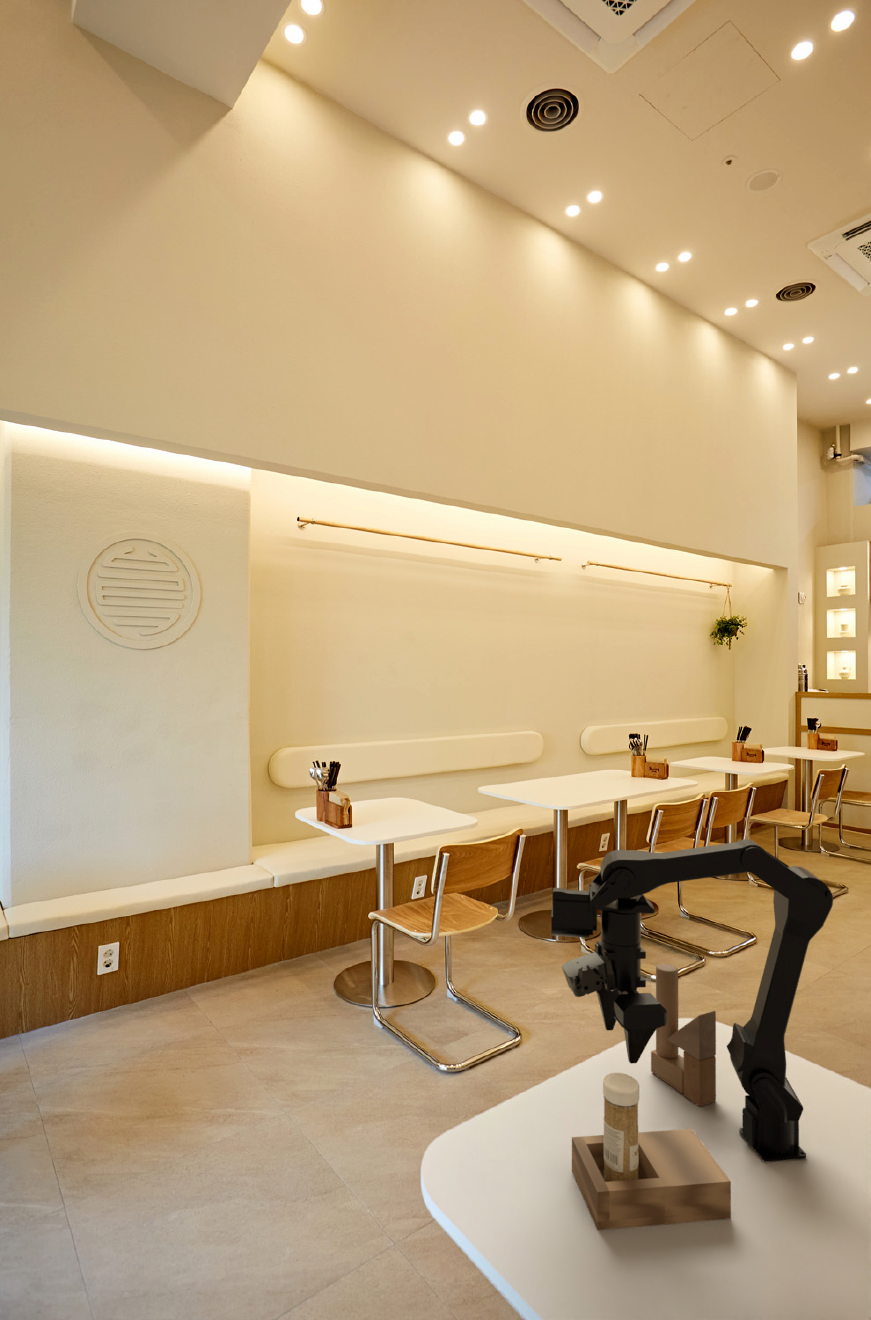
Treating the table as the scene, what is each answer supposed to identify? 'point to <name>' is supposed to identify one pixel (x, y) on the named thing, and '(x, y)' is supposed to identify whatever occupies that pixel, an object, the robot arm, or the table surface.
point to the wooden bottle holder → (653, 1182)
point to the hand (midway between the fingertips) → (620, 1045)
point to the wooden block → (684, 1045)
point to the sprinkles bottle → (620, 1127)
